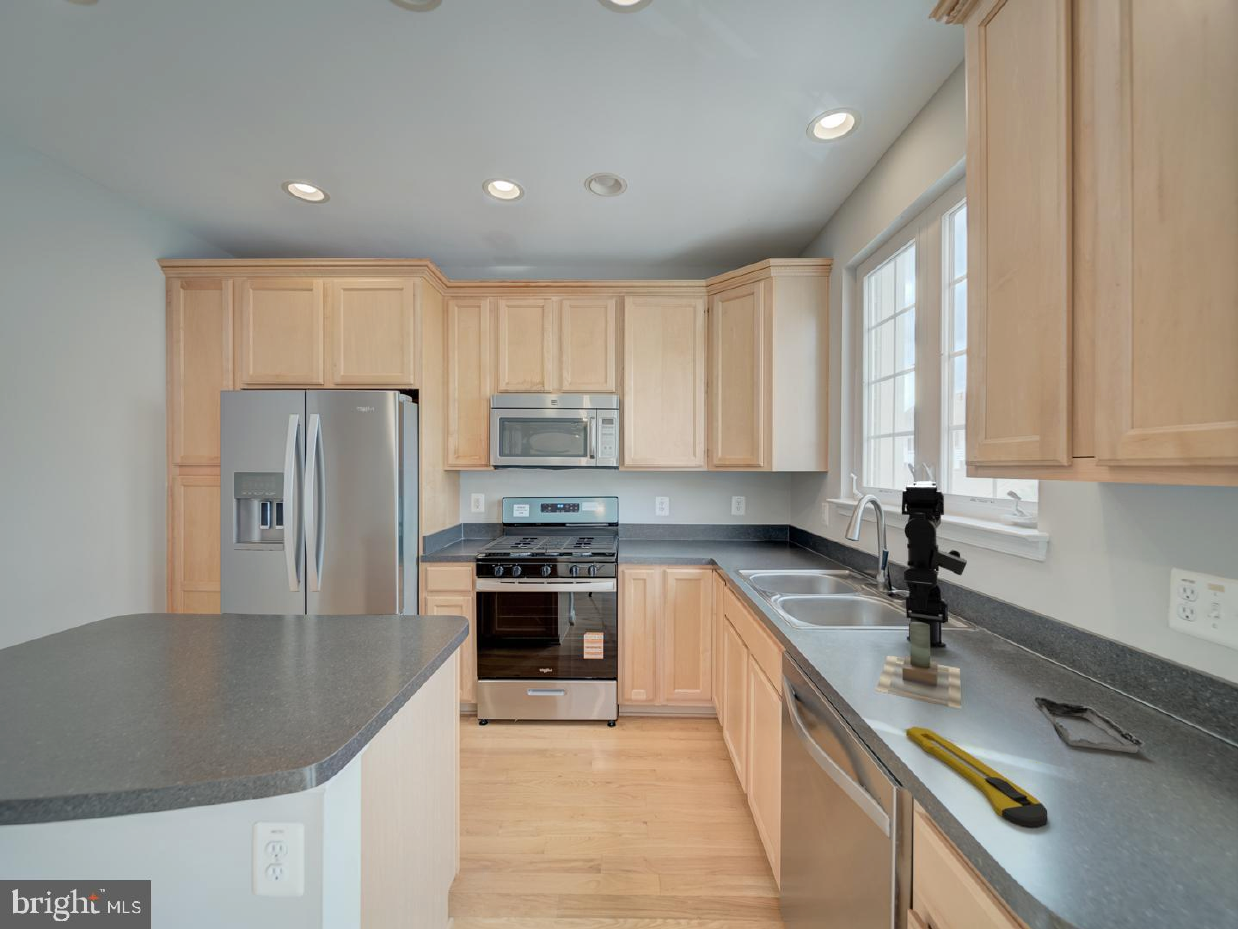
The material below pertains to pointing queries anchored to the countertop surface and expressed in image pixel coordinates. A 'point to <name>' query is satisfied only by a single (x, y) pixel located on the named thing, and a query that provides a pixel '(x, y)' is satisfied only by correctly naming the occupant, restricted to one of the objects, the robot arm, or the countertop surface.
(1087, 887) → the countertop surface
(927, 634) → the grey-green cylinder
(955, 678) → the wooden frame
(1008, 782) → the utility knife
